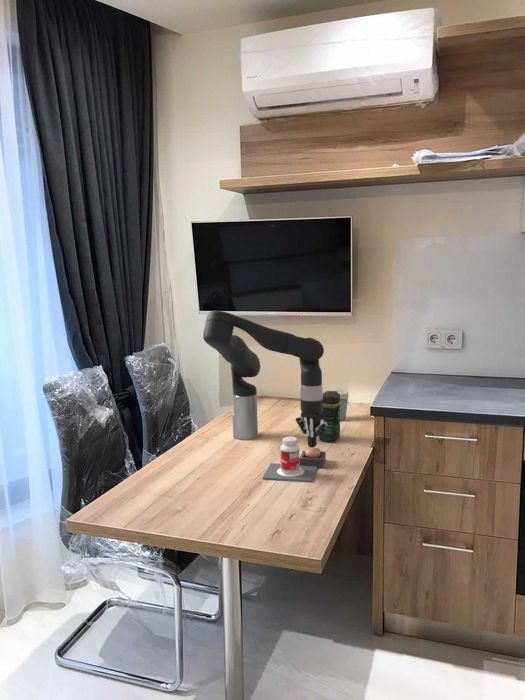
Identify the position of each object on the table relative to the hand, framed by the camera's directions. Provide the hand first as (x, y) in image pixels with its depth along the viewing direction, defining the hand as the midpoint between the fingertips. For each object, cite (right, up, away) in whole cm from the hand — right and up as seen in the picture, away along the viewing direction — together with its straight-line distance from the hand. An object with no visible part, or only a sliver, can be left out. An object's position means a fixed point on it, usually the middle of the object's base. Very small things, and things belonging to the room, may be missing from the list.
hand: (312, 446), depth 200 cm
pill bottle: (-8, -7, -7) cm, 13 cm away
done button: (0, -3, +1) cm, 3 cm away
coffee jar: (+9, -2, +27) cm, 28 cm away
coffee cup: (+16, +3, +52) cm, 55 cm away
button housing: (0, -6, +1) cm, 6 cm away
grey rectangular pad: (-8, -8, -7) cm, 13 cm away
